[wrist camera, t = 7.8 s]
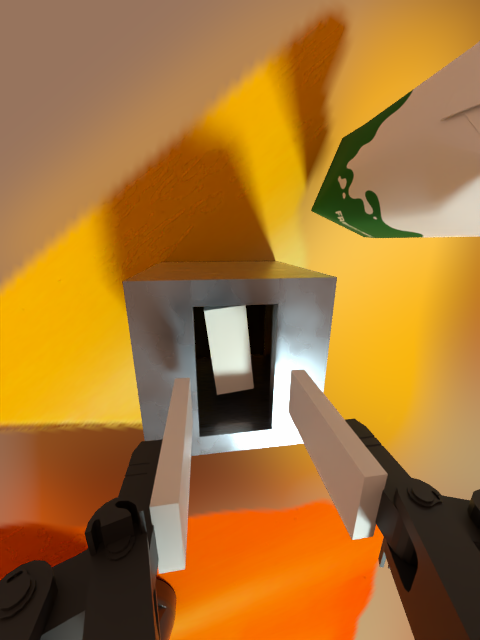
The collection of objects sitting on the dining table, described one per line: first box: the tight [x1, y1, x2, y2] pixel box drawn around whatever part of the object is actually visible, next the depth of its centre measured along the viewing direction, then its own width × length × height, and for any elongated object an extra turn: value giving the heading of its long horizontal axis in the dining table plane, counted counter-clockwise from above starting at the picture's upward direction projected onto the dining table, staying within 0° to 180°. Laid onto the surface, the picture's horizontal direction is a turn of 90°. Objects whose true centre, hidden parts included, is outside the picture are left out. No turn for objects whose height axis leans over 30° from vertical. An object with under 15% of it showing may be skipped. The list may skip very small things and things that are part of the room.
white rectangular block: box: [204, 305, 254, 395], centre depth 23 cm, size 7×3×8 cm, turn 6°
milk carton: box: [311, 41, 480, 238], centre depth 17 cm, size 9×9×20 cm
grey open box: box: [123, 261, 337, 456], centre depth 22 cm, size 12×12×13 cm
